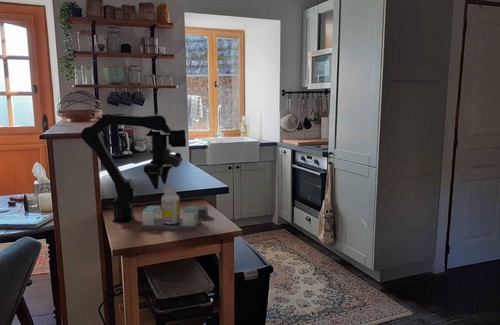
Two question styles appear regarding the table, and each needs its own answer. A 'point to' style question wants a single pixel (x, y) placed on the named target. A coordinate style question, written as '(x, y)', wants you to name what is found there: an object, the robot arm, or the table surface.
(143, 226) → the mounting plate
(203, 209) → the loose gray rectangular block
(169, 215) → the supplement bottle
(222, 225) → the table surface
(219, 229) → the table surface
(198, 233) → the table surface
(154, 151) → the robot arm
